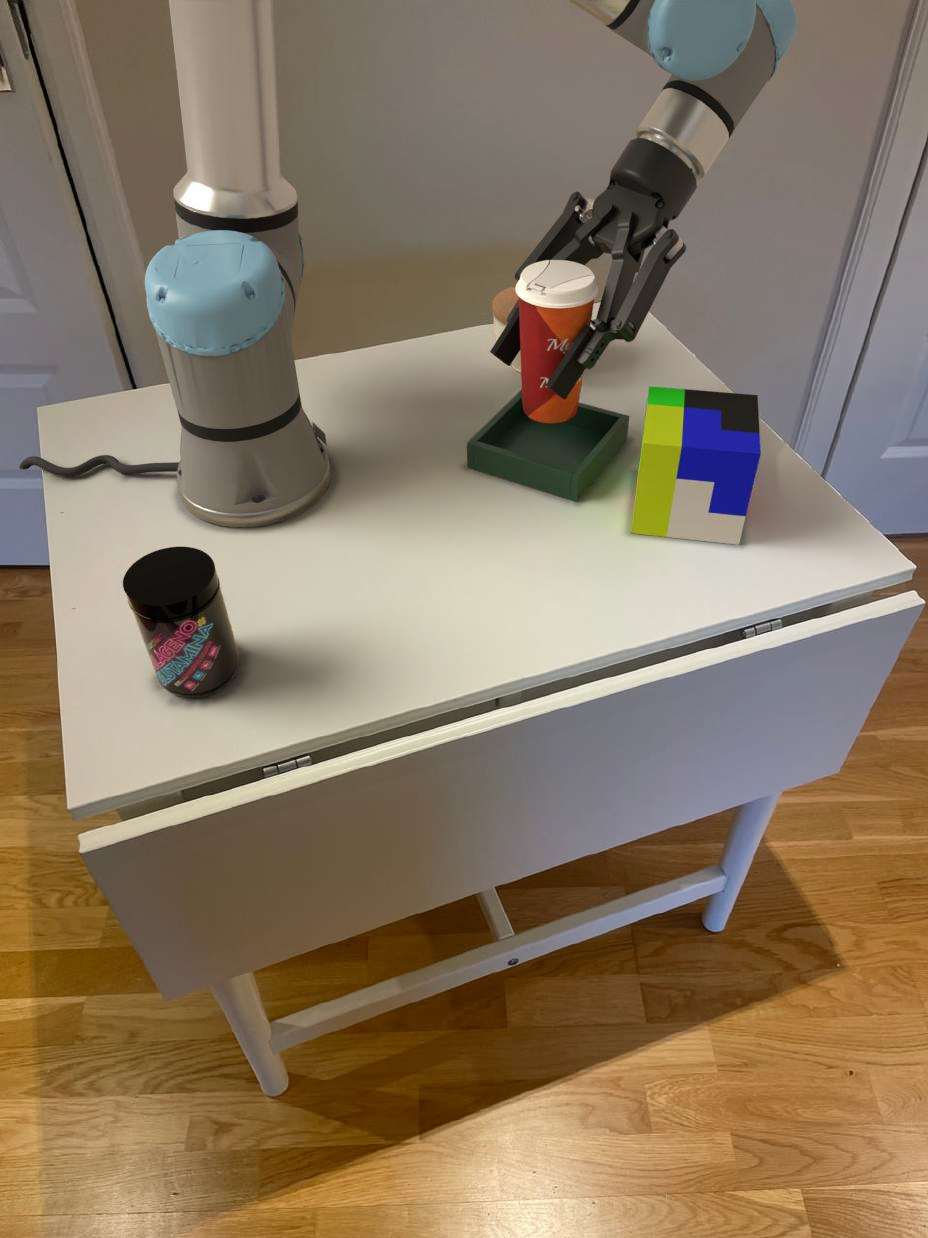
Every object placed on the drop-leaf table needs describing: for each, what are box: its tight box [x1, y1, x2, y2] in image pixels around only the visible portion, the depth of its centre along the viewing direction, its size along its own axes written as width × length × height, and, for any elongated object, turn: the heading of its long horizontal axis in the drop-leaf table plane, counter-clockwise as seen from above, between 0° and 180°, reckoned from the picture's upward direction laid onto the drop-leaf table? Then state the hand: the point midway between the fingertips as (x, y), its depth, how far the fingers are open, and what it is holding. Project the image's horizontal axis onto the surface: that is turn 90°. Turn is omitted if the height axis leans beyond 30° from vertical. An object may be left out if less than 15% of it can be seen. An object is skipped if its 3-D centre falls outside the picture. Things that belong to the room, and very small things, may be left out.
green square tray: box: [466, 389, 630, 503], centre depth 95 cm, size 13×13×3 cm
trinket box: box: [491, 285, 521, 374], centre depth 107 cm, size 11×11×9 cm
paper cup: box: [515, 260, 600, 423], centre depth 88 cm, size 8×8×14 cm
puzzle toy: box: [630, 385, 762, 546], centre depth 86 cm, size 10×10×10 cm
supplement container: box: [122, 546, 241, 698], centre depth 71 cm, size 7×7×10 cm
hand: (526, 375), depth 88 cm, fingers closed on paper cup, 8 cm apart
